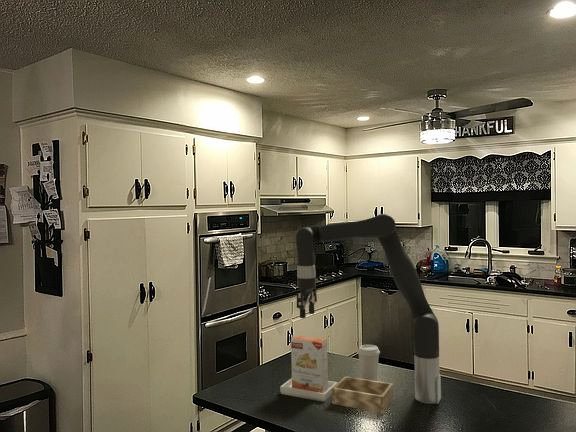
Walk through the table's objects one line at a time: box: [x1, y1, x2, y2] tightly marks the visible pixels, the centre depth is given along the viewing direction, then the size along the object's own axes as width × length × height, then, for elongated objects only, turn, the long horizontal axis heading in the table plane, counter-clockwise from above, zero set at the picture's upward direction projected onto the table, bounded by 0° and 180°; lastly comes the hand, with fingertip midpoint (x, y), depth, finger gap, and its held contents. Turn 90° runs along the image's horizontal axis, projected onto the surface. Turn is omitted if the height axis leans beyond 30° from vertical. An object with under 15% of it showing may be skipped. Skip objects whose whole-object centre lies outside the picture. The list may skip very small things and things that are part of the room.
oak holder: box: [331, 376, 395, 414], centre depth 183 cm, size 20×14×6 cm
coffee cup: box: [357, 344, 381, 381], centre depth 203 cm, size 10×10×15 cm
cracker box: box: [290, 335, 329, 393], centre depth 193 cm, size 14×6×21 cm, turn 62°
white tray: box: [279, 377, 339, 403], centre depth 194 cm, size 20×14×3 cm
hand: (307, 315), depth 193 cm, fingers open, 8 cm apart
